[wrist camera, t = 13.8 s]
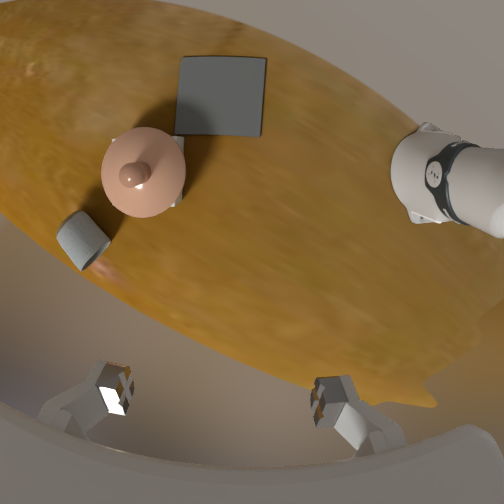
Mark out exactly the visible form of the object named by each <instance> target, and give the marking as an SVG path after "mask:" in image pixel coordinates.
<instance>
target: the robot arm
mask: <svg viewBox="0 0 504 504" xmlns="http://www.w3.org/2000/svg"><path fill="white" fill-rule="evenodd" d="M391 179H392V184H393V188H394V190H395V193H396V195H397V197H398V198H399V200H400V201H401V202H402V203H403V204H404V205H405V207H406V208H407V210H408V214H409V217H410V219H411V221H412V222H413V223H417V224H419V223H428V222H436V223H442V222H447V221H454V222H456V223H459V224H460V223H461V224H463V225H472V226H474V227H476V228H478V229H480V230H482V231H484V232H486V233H488V234H490V235H492V236H494V237H496V238H504V149H493V148H481V147H479V146H478V145H475V144H472V143H470V142H468V141H465V140H462V141H461V138H460V137H459V136H456V135H454V136H453V134H452V133H449V132H443V131H442V130H440V129H438V128H437V127H435V126H434V125H432V124H431V123H426V122H425V123H423V124H422V125H421V126H420V127H419V129H418V130H417V131H416V132H415V133H413V134H411V135H409V136H407V137H406V138H405V139H403V140H402V141H401V142H400V144H399V145H398V147H397V148H396V150H395V152H394V155H393V158H392V163H391ZM421 217H422V218H421ZM130 373H131V370H130V367H129V366H126V365H121V364H117V363H112V362H107V361H103V360H98V361H97V362H96V363H95V365H94V367H93V368H92V370H91V372H90V374H89V375H88V378H87V379H86V381H85V383H82V382H81V383H80V384H78V385H76V386H75V387H72V388H71V389H69V390H67V391H66V392H63V393H61V394H60V395H58V396H56V397H54V398H52V399H51V400H48V401H46V402H45V404H44V406H43V407H42V409H41V411H40V413H39V414H38V416H37V418H36V420H34V419H32V418H30V417H28V416H26V415H24V414H22V413H20V412H18V411H16V410H14V409H12V408H11V407H9V406H7V405H5V404H4V403H2V402H0V504H504V458H503V456H502V454H501V452H500V450H499V448H498V446H497V444H496V442H495V440H494V439H493V437H492V436H491V435H490V434H489V433H488V432H486V431H484V430H482V429H480V428H478V427H476V426H474V425H472V424H463V425H461V426H458V427H456V428H454V429H451V430H449V431H446V432H444V433H441V434H438V435H436V436H433V437H430V438H428V439H425V440H422V441H419V442H416V443H413V444H409V445H408V444H407V441H406V439H405V437H404V434H403V432H402V430H401V428H400V426H399V425H398V424H397V423H395V422H394V421H392V420H391V419H389V418H388V417H386V416H385V415H384V414H382V413H381V412H379V411H378V410H376V409H375V408H373V407H372V406H371V405H369V404H368V403H366V402H365V401H364V400H361V401H360V399H359V396H358V394H357V391H356V389H355V387H354V384H353V382H352V379H351V377H350V376H349V375H343V376H330V377H317V378H316V379H315V382H314V385H315V388H314V389H312V391H311V395H310V405H311V409H312V410H313V411H315V413H314V416H313V418H314V422H315V427H316V428H321V427H334V428H335V429H336V430H337V431H338V432H339V433H340V434H341V435H342V436H343V437H344V438H345V439H346V440H347V441H348V442H349V443H350V444H351V445H352V446H353V447H354V448H355V449H356V450H357V452H356V453H355V454H354V456H353V457H352V458H351V459H346V460H341V461H334V462H327V463H319V464H310V465H300V466H285V467H224V466H209V465H198V464H189V463H181V462H175V461H168V460H162V459H157V458H151V457H146V456H141V455H137V454H133V453H128V452H124V451H120V450H116V449H113V448H109V447H106V446H102V445H99V444H96V443H92V442H90V441H89V440H88V439H87V437H86V436H85V434H84V433H85V432H86V431H87V430H89V429H90V428H91V427H92V426H94V425H95V424H96V423H97V422H99V421H100V420H101V419H102V418H104V417H105V416H106V415H107V414H108V413H109V412H111V413H115V414H120V415H126V413H127V410H128V407H129V402H128V400H129V399H131V398H132V396H133V394H134V380H133V378H131V376H130Z"/></svg>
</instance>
